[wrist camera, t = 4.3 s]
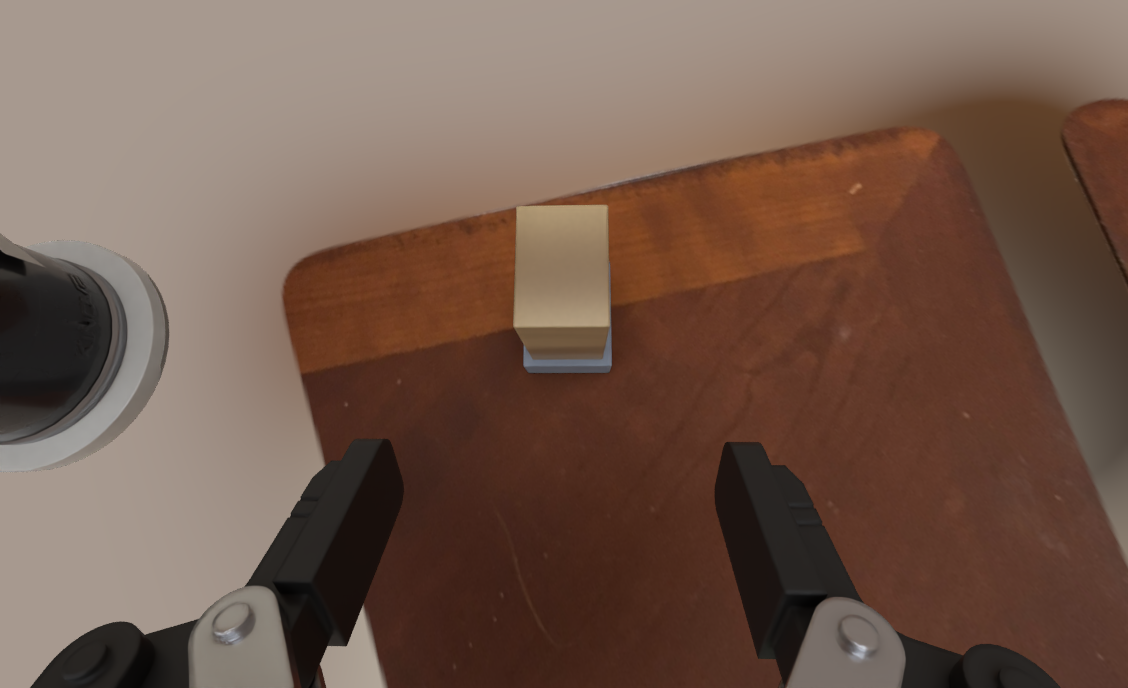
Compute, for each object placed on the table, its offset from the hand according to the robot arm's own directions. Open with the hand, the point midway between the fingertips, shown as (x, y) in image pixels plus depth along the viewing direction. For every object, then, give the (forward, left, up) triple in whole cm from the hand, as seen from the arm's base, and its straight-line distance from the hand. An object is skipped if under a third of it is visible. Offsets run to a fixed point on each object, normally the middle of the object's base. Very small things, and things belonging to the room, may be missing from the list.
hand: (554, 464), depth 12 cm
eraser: (+2, +6, -11) cm, 13 cm away
